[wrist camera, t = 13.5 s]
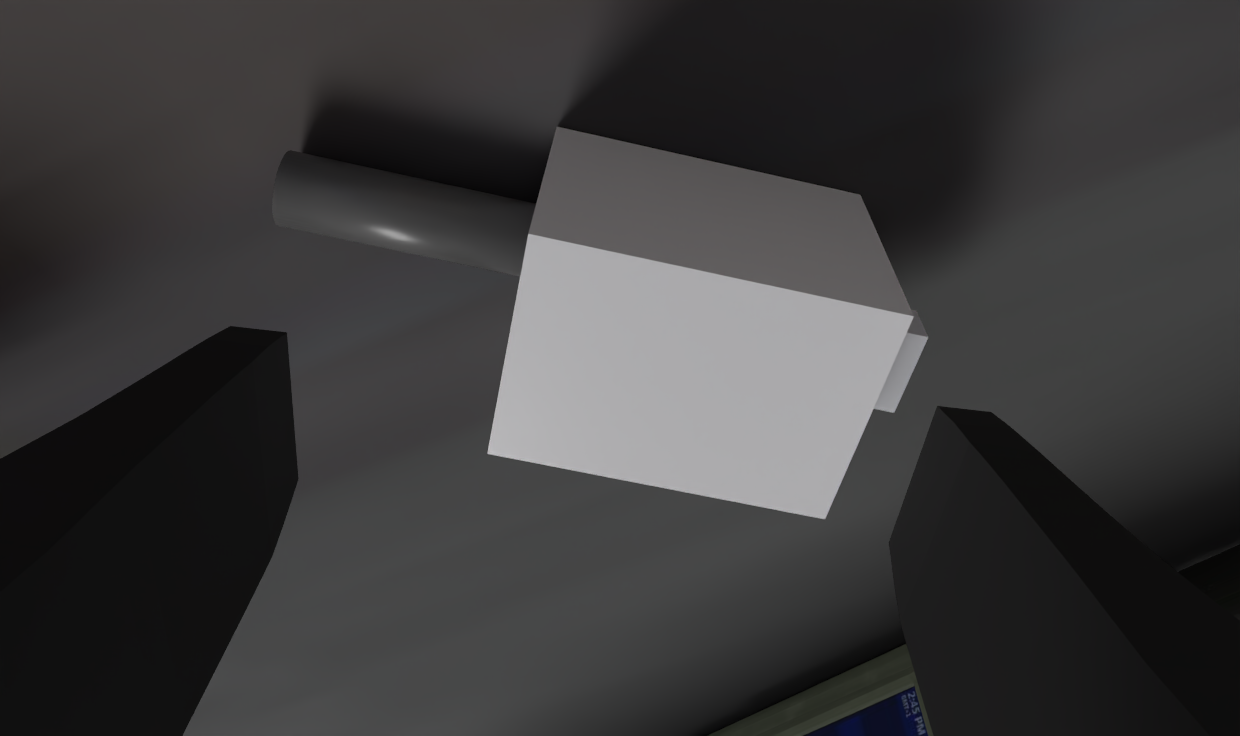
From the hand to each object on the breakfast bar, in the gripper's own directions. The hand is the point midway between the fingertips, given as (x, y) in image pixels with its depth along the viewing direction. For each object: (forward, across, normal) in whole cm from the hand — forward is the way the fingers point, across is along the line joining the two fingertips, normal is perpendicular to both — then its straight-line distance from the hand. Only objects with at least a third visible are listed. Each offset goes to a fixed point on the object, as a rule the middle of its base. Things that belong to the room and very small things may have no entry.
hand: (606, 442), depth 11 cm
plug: (+6, 0, 0) cm, 6 cm away
